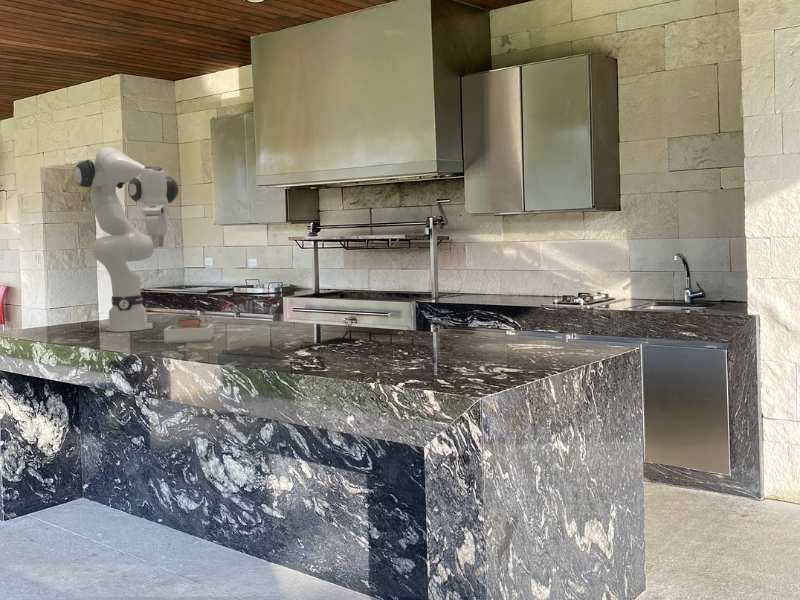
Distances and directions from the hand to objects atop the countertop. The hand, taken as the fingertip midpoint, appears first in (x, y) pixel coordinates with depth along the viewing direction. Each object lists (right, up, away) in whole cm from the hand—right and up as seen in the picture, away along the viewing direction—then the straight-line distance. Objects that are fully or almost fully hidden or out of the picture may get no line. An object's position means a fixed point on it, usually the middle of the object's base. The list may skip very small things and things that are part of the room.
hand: (158, 247), depth 317 cm
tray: (+13, -34, -5) cm, 37 cm away
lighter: (+13, -32, -7) cm, 35 cm away
